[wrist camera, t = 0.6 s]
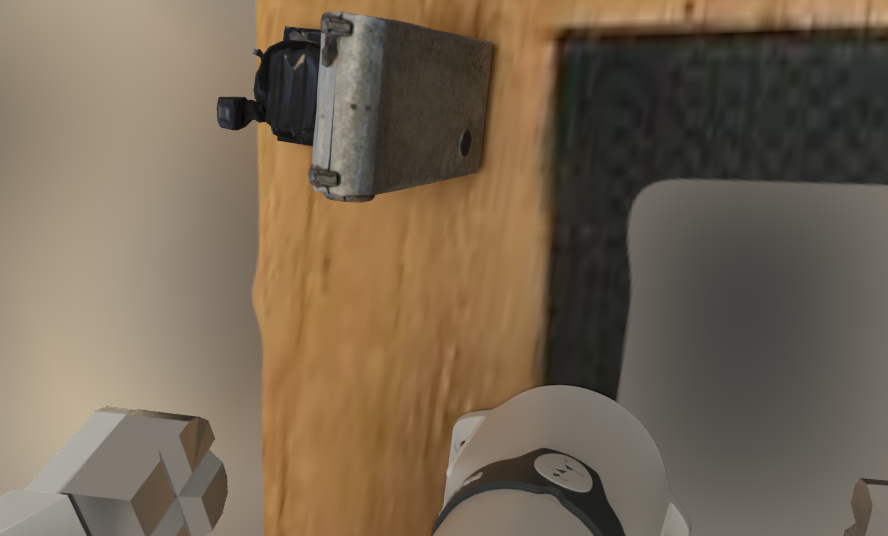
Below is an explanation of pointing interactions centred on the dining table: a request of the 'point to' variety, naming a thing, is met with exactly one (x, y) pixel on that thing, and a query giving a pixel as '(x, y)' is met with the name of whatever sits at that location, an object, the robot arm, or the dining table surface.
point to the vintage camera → (372, 103)
